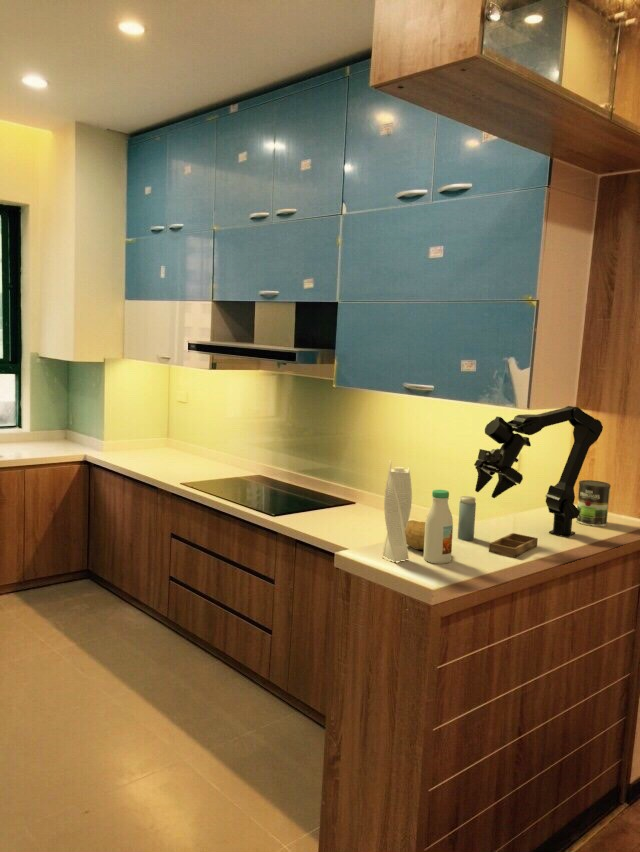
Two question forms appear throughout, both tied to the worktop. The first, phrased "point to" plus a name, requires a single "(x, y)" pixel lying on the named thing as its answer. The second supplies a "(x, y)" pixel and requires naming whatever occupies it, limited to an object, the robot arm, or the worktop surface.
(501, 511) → the worktop surface
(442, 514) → the milk bottle
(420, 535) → the potato
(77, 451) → the worktop surface
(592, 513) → the coffee can
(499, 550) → the caddy
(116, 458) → the worktop surface
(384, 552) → the skyscraper
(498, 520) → the worktop surface
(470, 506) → the salt shaker
